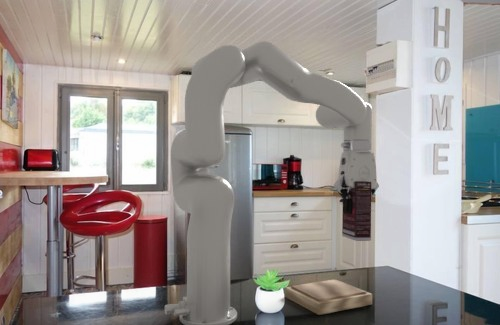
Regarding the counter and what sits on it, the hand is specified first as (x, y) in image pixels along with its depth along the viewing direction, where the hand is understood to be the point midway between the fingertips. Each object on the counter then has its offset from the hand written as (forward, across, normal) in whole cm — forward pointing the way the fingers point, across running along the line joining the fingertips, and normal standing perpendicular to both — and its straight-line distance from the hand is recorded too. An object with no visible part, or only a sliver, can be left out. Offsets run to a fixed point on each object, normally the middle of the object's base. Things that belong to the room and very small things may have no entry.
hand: (356, 212), depth 112 cm
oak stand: (+21, -13, -5) cm, 25 cm away
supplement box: (+7, 0, 0) cm, 7 cm away
